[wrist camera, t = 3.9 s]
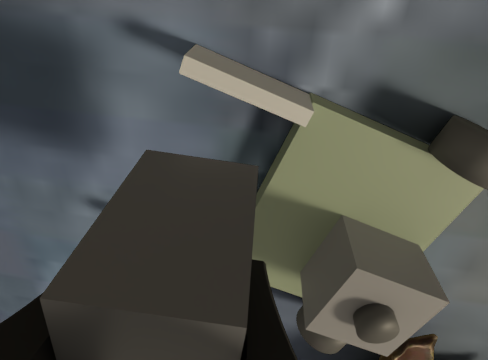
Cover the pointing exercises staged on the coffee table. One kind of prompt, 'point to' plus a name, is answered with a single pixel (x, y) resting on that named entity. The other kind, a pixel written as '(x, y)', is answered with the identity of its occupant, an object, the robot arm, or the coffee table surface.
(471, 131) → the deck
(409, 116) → the coffee table surface
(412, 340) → the ceramic sculpture
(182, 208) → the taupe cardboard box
